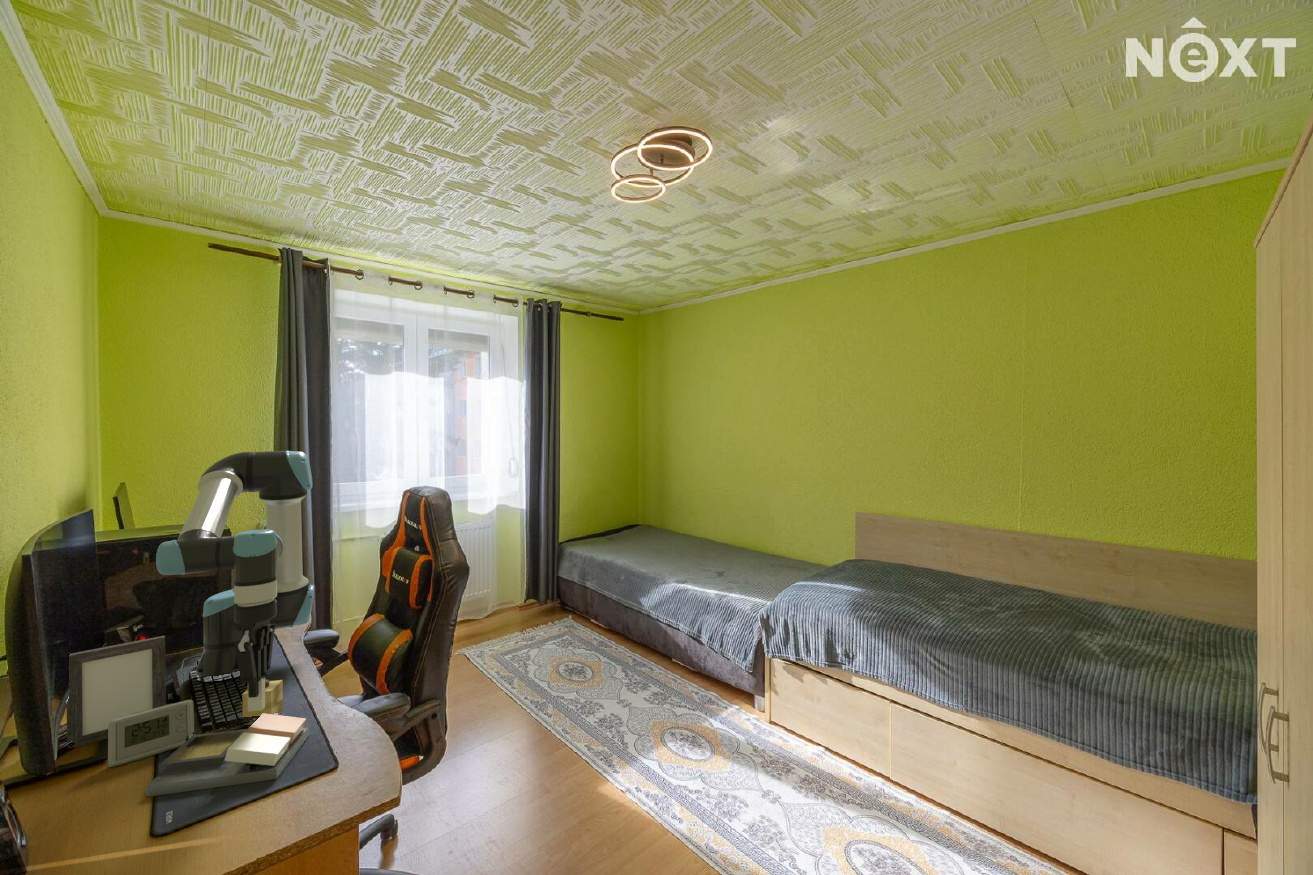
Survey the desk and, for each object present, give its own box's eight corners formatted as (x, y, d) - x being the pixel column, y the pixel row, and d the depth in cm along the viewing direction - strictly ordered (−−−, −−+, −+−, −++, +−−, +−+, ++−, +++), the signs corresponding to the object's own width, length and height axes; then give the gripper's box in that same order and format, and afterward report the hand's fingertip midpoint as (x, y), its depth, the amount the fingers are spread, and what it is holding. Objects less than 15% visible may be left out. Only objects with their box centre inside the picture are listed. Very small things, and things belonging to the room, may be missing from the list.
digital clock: (103, 771, 110) (102, 727, 110) (115, 753, 116) (115, 711, 116) (191, 750, 117) (190, 709, 117) (198, 733, 124) (197, 694, 124)
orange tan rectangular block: (259, 723, 119) (262, 713, 119) (303, 728, 121) (306, 718, 121) (245, 738, 113) (248, 727, 113) (291, 743, 115) (294, 732, 115)
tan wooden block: (255, 714, 132) (255, 677, 132) (282, 711, 133) (282, 675, 133) (242, 727, 126) (242, 688, 126) (271, 724, 128) (271, 685, 128)
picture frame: (66, 751, 117) (66, 656, 117) (68, 747, 118) (67, 653, 118) (165, 724, 128) (165, 637, 128) (165, 720, 129) (164, 634, 129)
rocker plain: (240, 743, 111) (244, 732, 111) (287, 748, 113) (290, 737, 113) (224, 760, 105) (228, 748, 106) (274, 765, 107) (277, 753, 108)
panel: (194, 749, 117) (194, 733, 117) (309, 735, 122) (308, 720, 122) (143, 797, 102) (142, 778, 102) (276, 778, 107) (276, 761, 107)
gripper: (251, 594, 122) (252, 697, 122) (218, 612, 109) (219, 726, 109) (288, 592, 124) (289, 693, 123) (260, 608, 111) (261, 722, 111)
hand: (256, 709), depth 116 cm, fingers closed
